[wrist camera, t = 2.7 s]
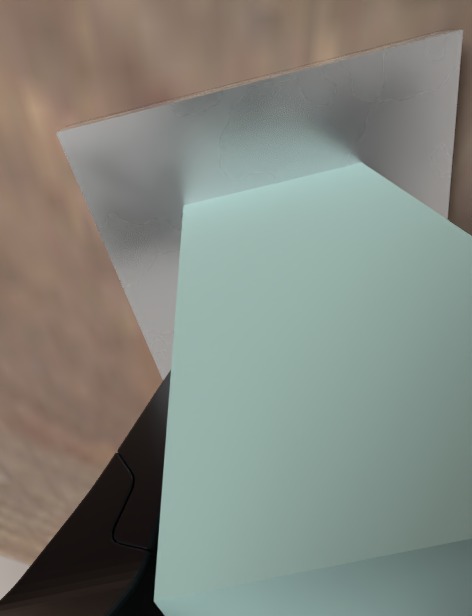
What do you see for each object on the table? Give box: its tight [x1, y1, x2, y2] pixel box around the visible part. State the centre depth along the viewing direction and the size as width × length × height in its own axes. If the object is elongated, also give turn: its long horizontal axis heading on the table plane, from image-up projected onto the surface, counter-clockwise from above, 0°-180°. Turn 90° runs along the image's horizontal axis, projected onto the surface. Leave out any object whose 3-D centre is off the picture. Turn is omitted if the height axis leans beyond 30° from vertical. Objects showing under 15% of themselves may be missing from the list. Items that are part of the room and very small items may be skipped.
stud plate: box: [56, 29, 463, 380], centre depth 12 cm, size 10×10×4 cm
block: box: [154, 163, 472, 616], centre depth 8 cm, size 5×5×10 cm
